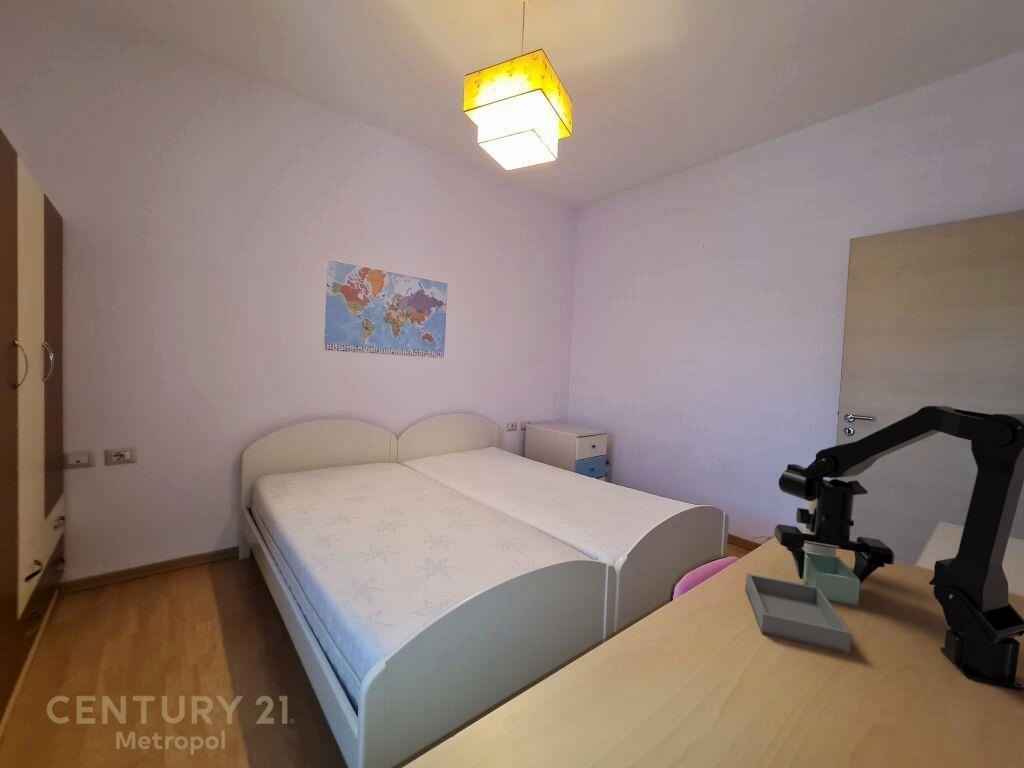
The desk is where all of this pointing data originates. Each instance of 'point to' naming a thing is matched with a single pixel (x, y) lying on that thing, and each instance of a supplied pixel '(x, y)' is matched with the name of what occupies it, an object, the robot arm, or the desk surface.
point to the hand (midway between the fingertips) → (826, 583)
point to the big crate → (796, 613)
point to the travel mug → (810, 547)
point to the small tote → (831, 578)
